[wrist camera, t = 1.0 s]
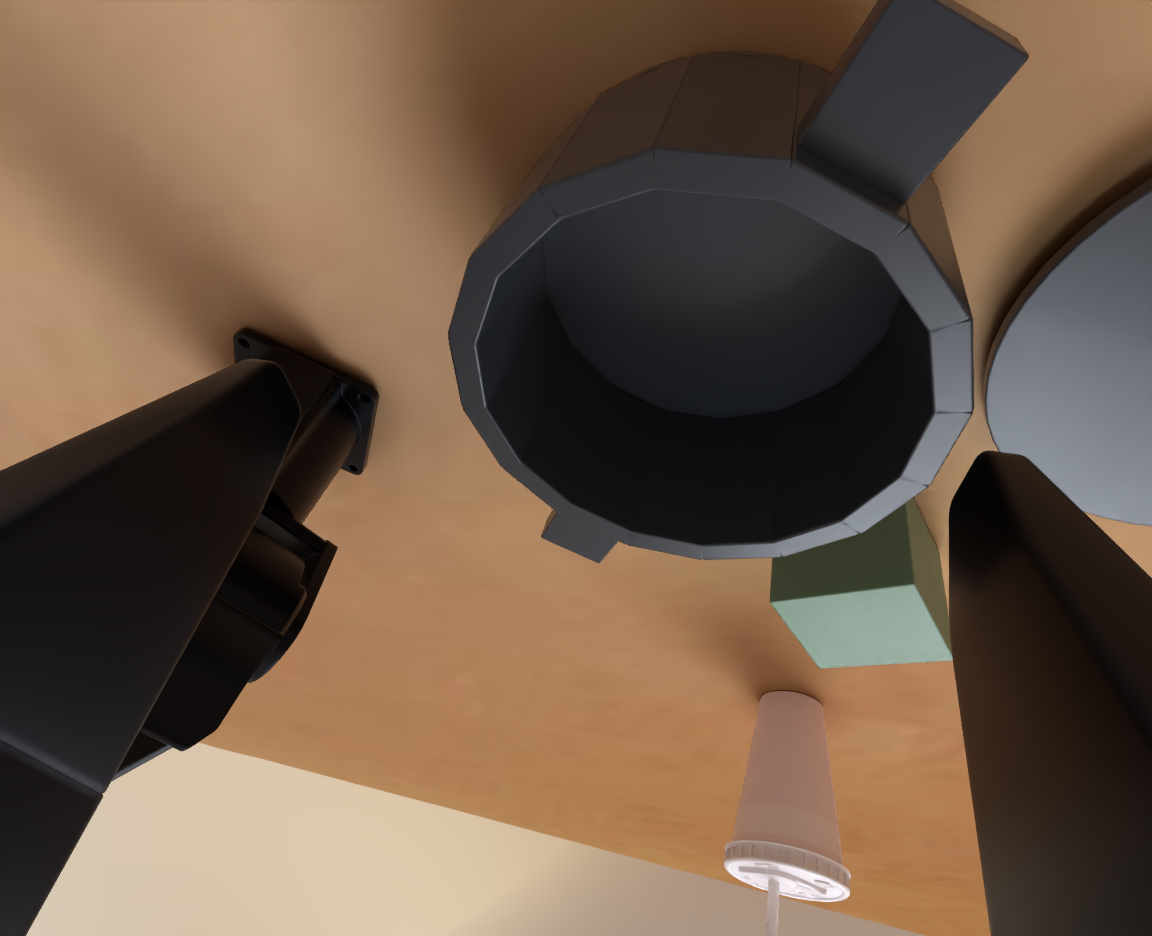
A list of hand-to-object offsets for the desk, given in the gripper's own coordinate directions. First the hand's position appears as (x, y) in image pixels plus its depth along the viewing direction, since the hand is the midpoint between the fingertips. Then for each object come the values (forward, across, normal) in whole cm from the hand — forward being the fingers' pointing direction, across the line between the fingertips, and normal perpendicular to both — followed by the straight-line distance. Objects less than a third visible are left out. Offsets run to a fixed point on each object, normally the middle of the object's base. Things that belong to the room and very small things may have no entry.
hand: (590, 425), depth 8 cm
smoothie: (+13, -8, +34) cm, 38 cm away
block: (+13, -8, +16) cm, 22 cm away
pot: (+13, -1, +5) cm, 14 cm away
